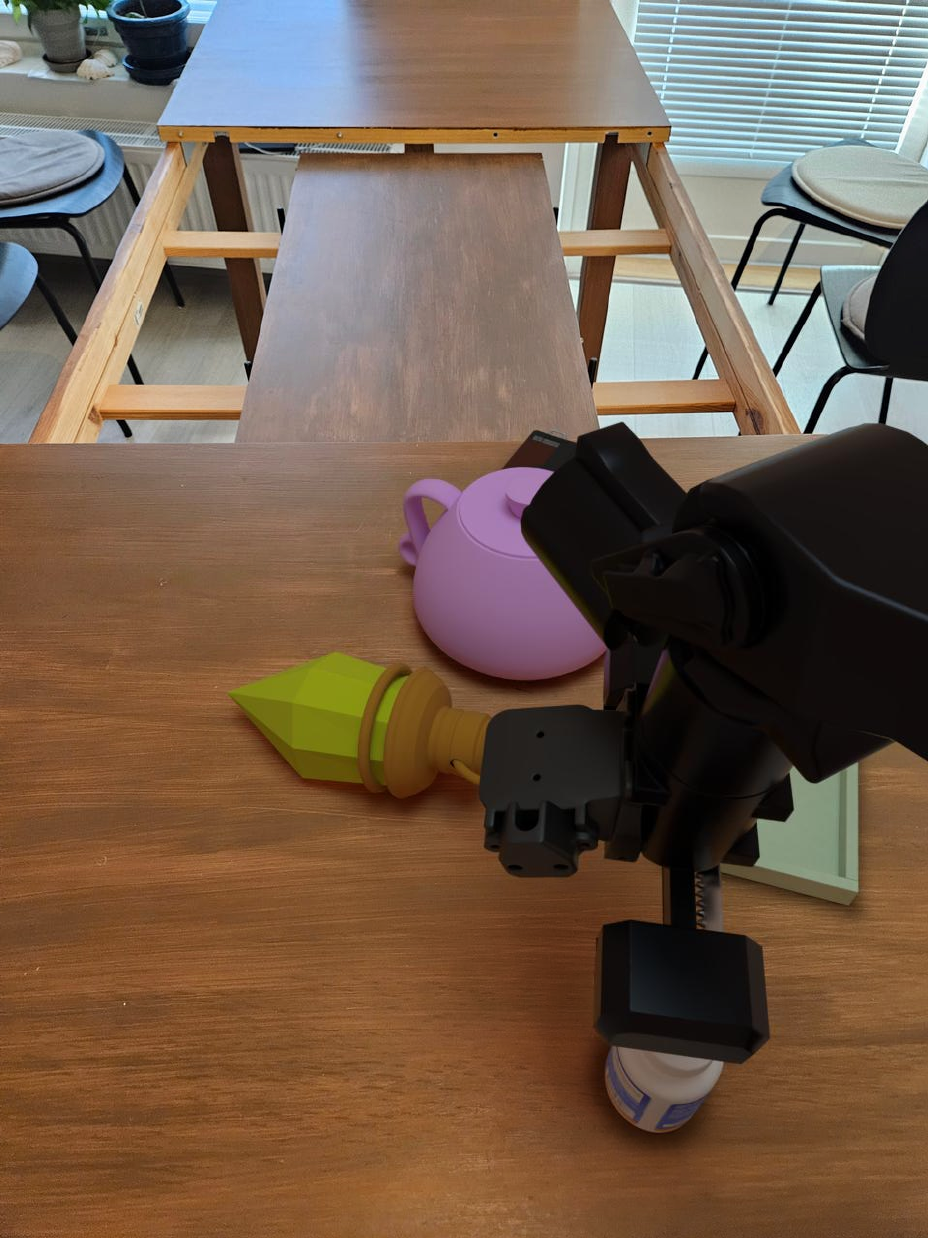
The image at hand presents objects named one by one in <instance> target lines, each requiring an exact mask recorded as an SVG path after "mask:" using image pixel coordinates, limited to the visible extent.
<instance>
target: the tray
mask: <svg viewBox="0 0 928 1238" xmlns="http://www.w3.org/2000/svg"><path fill="white" fill-rule="evenodd" d="M790 779H791V787H792V795H793V804H794V811H793V812H792V814H791V815H790V817H789V818H788V819H787V821H786V822H779V821H771V820H764V819H758V820H757V829H758V840H759V852H760V858H759V859H758V861H757V862H756V863H755V865H754V866H753V867H745V866H738V865H730V864H723V863H720V868H721V873H724V874H727V875H731V876H734V877H738V878H742V879H745V880H748V881H749V880H750V881H753V882H757V883H761V884H765V885H768V886H772V887H776V888H780V889H784V890H786V891H791V892H795V893H799V894H803V895H806V896H810V897H814V898H817V899H821V900H826V901H828V902H833V903H837V904H839V905H844V906H850V904H851V903H852V902H853V900H854V899H855V898H856V896H857V895H858V894H859V762H857V763H855V764H853V765H852V766H850V767H848V768H846V769H844V770H842V771H840V772H839V773H837V774H835V775H833V776H831V777H829V778H827V779H825V780H824V781H822V782H820V783H817V784H813V783H810V782H808V781H807V780H806V779H804V777H803V776H802V775H801V774H800V773H799V772H798V770H797V769H796V768H795V767H794V766H793V767H792V769H791V770H790Z"/></svg>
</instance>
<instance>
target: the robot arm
mask: <svg viewBox="0 0 928 1238" xmlns="http://www.w3.org/2000/svg"><path fill="white" fill-rule="evenodd" d="M520 522H521V533H522V536H523V538H524V540H525V542H526V543H527V544H528V546H529V547H530V548H531V550H532V551H533V552H534V553H535V555H536V556H537V557H538V559H539V560H540V561H541V563H542V564H543V565H544V566H545V568H546V569H547V570H548V572H549V573H550V574H551V576H552V577H553V578H554V579H555V581H556V582H557V583H558V585H559V586H560V587H561V589H562V590H563V591H564V592H565V594H566V595H567V596H568V598H569V599H570V600H571V601H572V603H573V604H574V605H575V607H576V608H577V609H578V611H579V612H580V613H581V614H582V616H583V617H584V618H585V620H586V621H587V622H588V624H589V625H590V626H591V627H592V629H593V630H594V631H595V633H596V634H597V635H598V637H599V638H600V639H601V640H602V642H603V643H604V644H605V646H606V647H607V650H606V651H605V656H604V660H603V684H602V685H603V689H602V691H603V692H602V702H603V705H602V709H593V708H591V707H589V706H588V705H584V704H578V703H577V704H563V705H549V706H547V705H546V706H535V707H533V706H532V707H520V708H510V709H504V710H501V711H500V712H498V713H496V714H495V715H494V716H493V717H491V718H492V719H491V720H490V722H489V723H488V726H487V728H486V735H485V743H484V750H483V758H482V766H481V774H480V782H479V786H478V799H479V801H480V803H481V804H482V806H483V808H484V809H485V812H484V821H483V828H484V829H485V832H484V839H483V840H484V841H483V848H484V849H485V850H487V851H489V852H492V853H498V856H497V857H498V858H497V859H498V861H499V863H500V865H501V866H502V868H503V869H504V871H505V872H506V873H507V874H508V875H510V876H513V877H516V878H519V879H545V878H547V879H548V878H550V879H551V878H554V879H556V878H561V879H562V878H570V877H571V876H573V875H575V874H576V873H578V871H579V858H580V856H581V854H582V853H585V852H591V851H595V850H596V849H598V848H599V841H600V842H604V847H603V848H604V850H603V851H604V854H603V858H604V860H608V861H609V860H611V861H616V862H624V863H636V862H637V861H638V860H639V858H640V855H641V856H642V857H644V858H645V859H646V860H648V861H649V862H652V863H653V864H655V865H657V866H659V867H661V902H662V903H661V909H662V910H661V911H662V923H659V922H652V921H645V920H638V919H625V920H621V921H620V920H619V921H615V922H609V923H604V924H602V926H601V928H600V930H599V932H598V935H597V937H596V938H595V957H594V973H593V974H594V976H593V977H594V980H593V1006H592V1007H593V1008H592V1009H593V1010H592V1011H593V1012H592V1017H593V1018H592V1028H593V1030H594V1031H595V1032H596V1034H597V1035H598V1037H600V1038H601V1039H602V1041H603V1042H604V1043H605V1045H606V1046H616V1047H623V1048H630V1049H637V1050H644V1051H651V1052H658V1053H665V1054H672V1055H679V1056H686V1057H693V1058H700V1059H707V1060H714V1061H721V1062H724V1063H728V1064H735V1065H743V1064H744V1063H745V1062H746V1061H748V1060H749V1059H750V1058H751V1057H753V1056H754V1055H756V1053H757V1052H758V1051H759V1050H760V1049H761V1048H762V1047H764V1045H765V1044H766V1043H767V1042H768V1041H769V1040H770V1039H771V1033H770V1032H771V1031H770V1030H771V1029H770V1020H769V1019H770V1018H769V1010H768V1009H769V1008H768V997H767V995H768V994H767V986H766V985H767V984H766V972H765V961H764V949H763V945H761V944H759V943H758V942H757V941H755V940H753V939H752V938H750V937H749V936H748V935H746V934H740V933H733V932H725V922H724V921H725V920H724V905H723V904H724V903H723V888H722V886H723V885H722V872H721V868H720V863H723V864H730V865H738V866H745V867H753V866H754V865H755V863H756V862H757V861H758V859H759V858H760V852H759V840H758V829H757V820H758V819H764V820H771V821H779V822H786V821H787V819H788V818H789V817H790V815H791V814H792V812H793V811H794V804H793V795H792V787H791V779H790V770H791V769H792V767H793V766H794V767H795V768H796V769H797V770H798V772H799V773H800V774H801V775H802V776H803V777H804V779H806V780H807V781H808V782H810V783H813V784H817V783H820V782H822V781H824V780H825V779H827V778H829V777H831V776H833V775H835V774H837V773H839V772H840V771H842V770H844V769H846V768H848V767H850V766H852V765H853V764H855V763H857V762H858V763H860V762H861V761H863V760H865V759H867V758H869V757H871V756H872V755H874V754H876V753H878V752H880V751H882V750H884V749H885V748H887V747H889V746H891V745H893V744H895V743H898V745H901V746H902V747H903V748H905V749H907V750H909V751H910V752H912V753H913V754H915V755H916V756H918V757H920V758H921V759H922V760H924V761H926V762H928V443H926V442H925V441H924V440H921V439H920V438H919V437H917V436H916V435H914V434H913V433H911V432H909V431H906V430H903V429H901V428H897V427H894V426H891V425H888V424H885V423H881V422H863V423H860V424H858V425H854V426H850V427H849V426H848V427H846V428H843V429H840V430H838V431H835V432H832V433H830V434H827V435H825V436H822V437H819V438H817V439H814V440H810V441H808V442H806V443H803V444H800V445H797V446H795V447H792V448H790V449H787V450H783V451H781V452H778V453H776V454H773V455H769V456H768V457H765V458H762V459H760V460H756V461H754V462H751V463H749V464H746V465H743V466H741V467H737V468H735V469H733V470H730V471H728V472H725V473H724V472H723V473H722V474H719V475H716V476H714V477H711V478H708V479H706V480H704V481H702V482H699V484H696V485H695V486H693V487H691V488H689V489H688V491H686V490H685V489H684V488H682V486H681V485H680V484H679V483H678V482H677V481H676V480H675V479H674V478H673V477H672V476H671V475H670V474H669V473H668V472H667V470H665V469H664V468H663V466H661V464H659V463H658V462H657V460H656V459H655V458H654V457H653V456H652V454H651V453H650V452H649V451H648V449H647V447H646V446H645V444H644V443H643V442H642V440H641V439H640V438H639V436H638V435H637V434H636V433H635V432H634V431H633V430H632V429H631V428H630V427H629V426H628V425H627V424H626V423H625V422H624V421H618V422H616V423H612V424H610V425H607V426H604V427H601V428H597V429H595V430H592V431H588V432H586V433H582V434H579V435H578V436H577V438H576V449H575V455H574V457H573V458H571V459H570V460H568V461H567V462H566V463H565V464H563V465H562V466H561V467H559V468H558V469H557V470H556V471H555V472H554V473H553V474H552V475H551V476H550V477H549V478H548V479H547V480H546V481H545V482H544V483H543V484H542V485H541V487H540V488H539V490H538V491H537V493H536V494H535V495H534V497H533V498H532V500H531V502H530V505H528V506H526V507H525V508H524V510H523V511H522V516H521V521H520ZM696 880H698V881H696ZM696 888H697V889H699V890H696ZM696 898H699V899H698V900H697V899H696ZM697 907H698V908H700V909H697ZM697 917H699V918H697ZM698 927H700V928H698Z"/></svg>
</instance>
